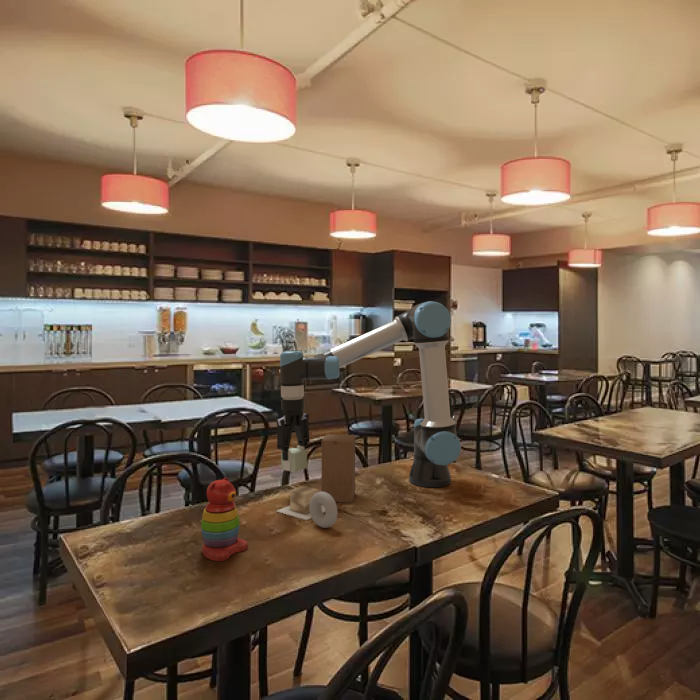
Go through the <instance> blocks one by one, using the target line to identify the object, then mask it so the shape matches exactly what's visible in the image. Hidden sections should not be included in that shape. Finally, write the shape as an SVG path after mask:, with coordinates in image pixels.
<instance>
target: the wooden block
mask: <svg viewBox="0 0 700 700" xmlns="http://www.w3.org/2000/svg"><path fill="white" fill-rule="evenodd" d="M320 443H321V491H322V492H326V493H328V494H330V495H331V496H332V497H333V499H334V500H335V502H336V503H345V502H346V503H348V504H349V503H353V500H354V498H355V493H356V435H355V434H334V433H333V434H327V433H326V434H325V436H324V437H323V438H322V440H321V442H320Z"/></svg>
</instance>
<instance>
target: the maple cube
mask: <svg viewBox="0 0 700 700" xmlns="http://www.w3.org/2000/svg"><path fill="white" fill-rule="evenodd" d="M318 492H319V488H314V487H311V486H310V487H309V486H306V485H300V486H299V487H295V488H293V489H290V490H289V505H290V510H292V511H296V512H300V513H303V514H306V513H308V512H310V501H311V498H312V497H313V496H314V494H315V493H318Z"/></svg>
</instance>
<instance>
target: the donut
mask: <svg viewBox="0 0 700 700" xmlns="http://www.w3.org/2000/svg"><path fill="white" fill-rule="evenodd" d="M321 505H323V506H324V507H325V512H324V513H325V514H324V513H323V512H322V509H321ZM338 512H339V511H338V506H337V502H335V500H334V499H333V497H332V496H331V495H330V494H328V493H326V492H322V490H320V491H318V493H315V494H314V496H313V497H312V498H311V501H310V514H311V517H312V518H311V519H312V521H313V522H314V523H315V524H316V525H317V526H318V527H319V528H324V529H327V528H330V527H332V526H333V525H334V524H335V523H336V521H337V518H338Z"/></svg>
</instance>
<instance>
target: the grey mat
mask: <svg viewBox="0 0 700 700" xmlns="http://www.w3.org/2000/svg"><path fill="white" fill-rule="evenodd" d="M321 509H322V512H323V514H324V513H326V512H325V507H324V506H323V504H322V505H321ZM278 512H279V514H282V513H283V515H285V514H286V515H287V516H289V517H292V516H293V518H296V519H299V520H303V521H306V520H307V521H309V520H311V519H312V517H311V514H310V512H308V513H306V514H303V513H300V512H296V511H292V510H290V504H289V505H287V506H285V507H282V508H281V509H280V508H279V509H277V510H276V513H278Z"/></svg>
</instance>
